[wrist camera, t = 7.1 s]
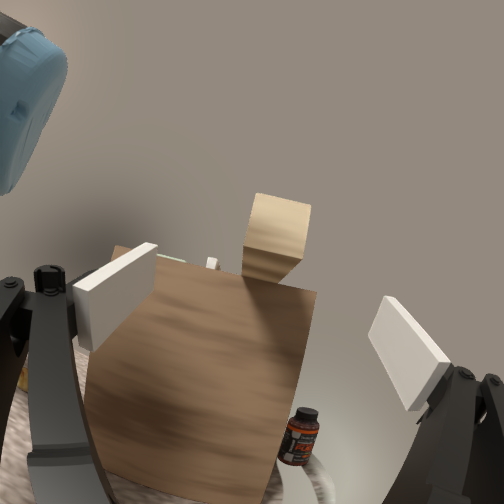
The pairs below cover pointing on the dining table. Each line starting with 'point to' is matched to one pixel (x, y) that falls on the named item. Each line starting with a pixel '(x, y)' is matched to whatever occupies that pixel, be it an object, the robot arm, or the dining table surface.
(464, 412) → the robot arm
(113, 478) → the dining table surface
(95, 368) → the brown wavy patterned box
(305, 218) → the beech bar
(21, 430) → the dining table surface
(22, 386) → the pastry
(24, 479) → the dining table surface
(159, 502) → the dining table surface
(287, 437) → the supplement bottle
